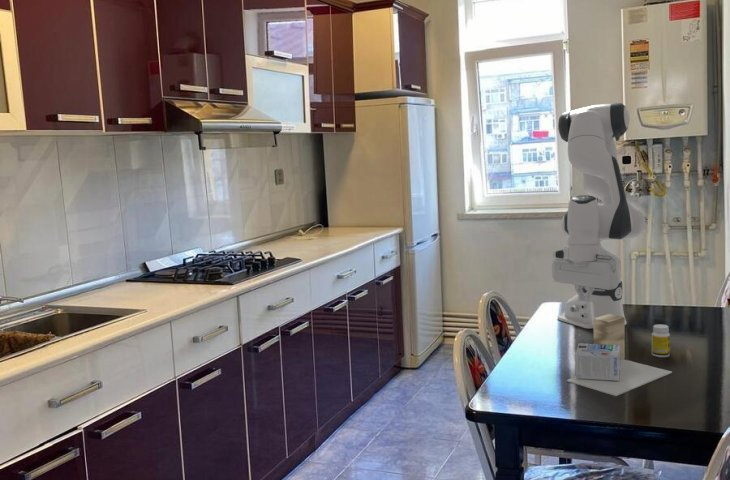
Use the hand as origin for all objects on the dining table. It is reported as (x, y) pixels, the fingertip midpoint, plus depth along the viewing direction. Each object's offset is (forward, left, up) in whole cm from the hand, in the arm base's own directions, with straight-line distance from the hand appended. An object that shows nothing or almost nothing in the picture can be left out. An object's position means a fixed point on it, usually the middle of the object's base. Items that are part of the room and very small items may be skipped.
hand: (584, 301), depth 194 cm
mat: (+18, -10, -16) cm, 26 cm away
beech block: (+8, 0, -16) cm, 17 cm away
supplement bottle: (+15, +13, -16) cm, 26 cm away
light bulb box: (+9, -15, -12) cm, 21 cm away
